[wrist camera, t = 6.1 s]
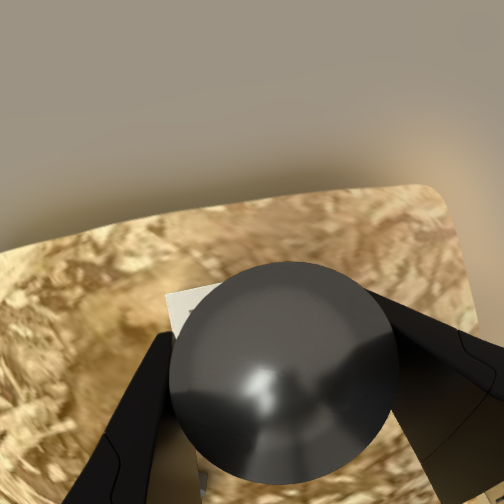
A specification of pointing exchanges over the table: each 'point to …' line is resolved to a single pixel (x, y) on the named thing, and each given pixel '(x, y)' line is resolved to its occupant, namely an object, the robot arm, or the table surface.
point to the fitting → (284, 373)
